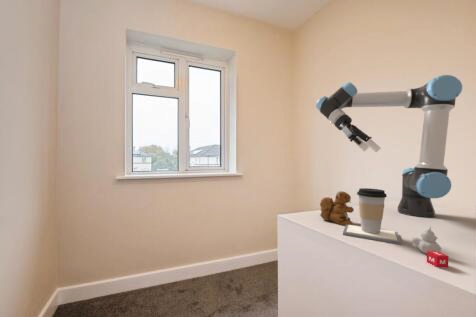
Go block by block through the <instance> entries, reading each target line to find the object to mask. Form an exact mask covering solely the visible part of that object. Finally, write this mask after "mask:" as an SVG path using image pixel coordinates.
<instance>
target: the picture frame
mask: <svg viewBox="0 0 476 317" xmlns="http://www.w3.org/2000/svg"><path fill="white" fill-rule="evenodd" d="M344 226H345V225H344ZM342 235H343V236H348V237H354V238H359V239H366V240H371V241H376V242H377V241H378V242H382V243H383V242H384V243H387V244H396V245H400V246H401V245H402V241H401V237H400V235H399V233H398V232H397V231H394V230H393V231H392V230H386V229H381V228H380V233H379V234H372V233H367V232H364V231H362V229H361V225H354V224H351V225H347V224H346V226H345V227H344V229H343V232H342Z"/></svg>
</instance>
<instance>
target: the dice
mask: <svg viewBox="0 0 476 317" xmlns="http://www.w3.org/2000/svg"><path fill="white" fill-rule="evenodd" d="M427 262H428V263H427ZM426 263H427V264H429V263H430V264H429V265H431V264H432V265H431V266H433V265H434V266H433V267H435V268H437V267H448V268H449V255H447V254H444V253H443V252H441V251H440V252H438V251H427V254H426Z"/></svg>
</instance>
